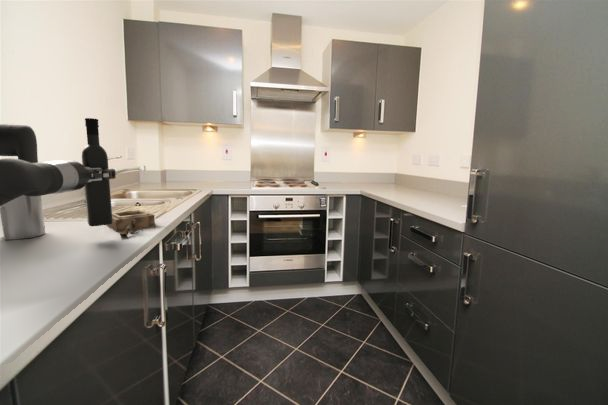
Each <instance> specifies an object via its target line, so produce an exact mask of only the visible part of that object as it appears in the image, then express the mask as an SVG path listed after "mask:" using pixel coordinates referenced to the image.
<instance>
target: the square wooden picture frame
mask: <svg viewBox="0 0 608 405" xmlns="http://www.w3.org/2000/svg"><path fill="white" fill-rule="evenodd" d="M133 219H135V226H136V228H137V229H138V230H139V229H144V228H145V229H146V228H150V227H151V228H153V227H156V222H155V221H156V220H155V214H152V213H150V212H148V211H145V210H143V209H136V210H134V209H133V210H125V211H115V212H112V221H113V223H112V224H110V225H106V226H107V227H109V228H110V229H112V230H113V231H115V232H116V233H119V232H124V231H125V230H126V228H127V226H128V225H129V224H130V222H131V220H133ZM131 230H133V227H132V228H131ZM131 230H130V231H131Z"/></svg>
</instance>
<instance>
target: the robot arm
mask: <svg viewBox="0 0 608 405" xmlns="http://www.w3.org/2000/svg"><path fill="white" fill-rule="evenodd" d="M0 157H7V158H1V159H0V220H1V226H2V234H3V239H4V241H7V240H21V239H29V238H35V237H39V236H42V235H45V234H46V225H45V217H44V210H43V202H42V201H43V200H42V196H46V195H53V194H55V195H56V194H64V193H68V192H73V191H78V190H81V189H84V186H85V185H86V184H87V182H91V181H99V180H109V181H110V180H114V179H116V175H117V174H116V170H115V169H114V168H109V169H101V168H90V167H84V166H83V165H82V163H81V162H79V161H76V160H49V161H44V162H39V159H38V141H37V135H36V133H35V131H34V129H33V128H32V127H31V126H29V125H27V124H15V123H0ZM14 157H17V158H14ZM93 170H96V172H95V171H93Z"/></svg>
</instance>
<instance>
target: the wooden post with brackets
mask: <svg viewBox="0 0 608 405" xmlns="http://www.w3.org/2000/svg"><path fill="white" fill-rule="evenodd" d="M132 227H133V229H132V230H131V228H132ZM137 231H138V230H137V228H136V226H135V219H133V220H131V222H130V224H129V225H128V226H127V228H126V230H125V231H122V232H120V233H119V236H120V238H121V239H122V238H123V239H124V238H129V237H128V234H129V235H134V233H136V232H137Z"/></svg>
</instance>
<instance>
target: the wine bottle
mask: <svg viewBox="0 0 608 405" xmlns="http://www.w3.org/2000/svg"><path fill="white" fill-rule="evenodd" d="M84 124H85V125H84V126H85V128H86V137H87V138H86V140H87V142H86V143H87V145H86V146H84V148H83V150H82V152H81V164H82V165H83V166H84V167H90V168H101V169H110V168H109V157H108V154H107V152H106V150H105V149H104V148H103V147H102V146H101V145H100V134H99V119H98V118H90V117H87V118H84ZM93 171H95V172H96V170H93ZM110 184H111V183H110V179H109V180H99V181H91V182H87V184H86V185H85V186H84V187H83V189H84V195H85V196H84V197H85V199H84V200H85V209H86V220H87V224H88V226H89V227H101V226H107V225H110V224H112V223H113V221H112V213H113V211H112V210H113V209H112V196H111V185H110Z"/></svg>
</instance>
